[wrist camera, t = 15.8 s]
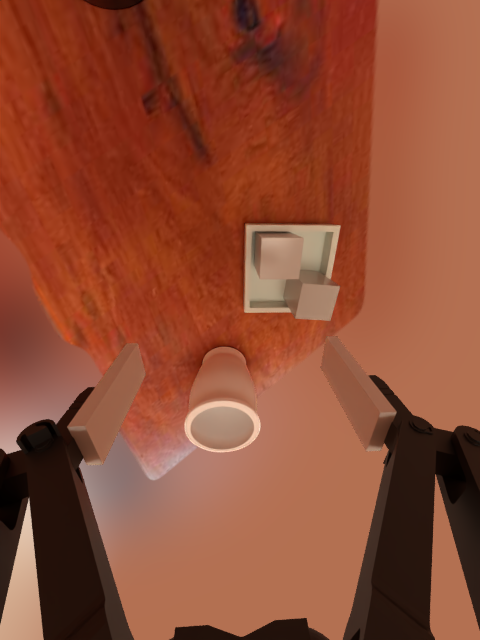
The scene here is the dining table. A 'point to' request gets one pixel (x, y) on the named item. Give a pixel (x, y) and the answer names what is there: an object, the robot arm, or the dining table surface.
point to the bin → (314, 257)
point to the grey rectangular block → (311, 295)
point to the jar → (222, 403)
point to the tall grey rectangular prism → (277, 254)
